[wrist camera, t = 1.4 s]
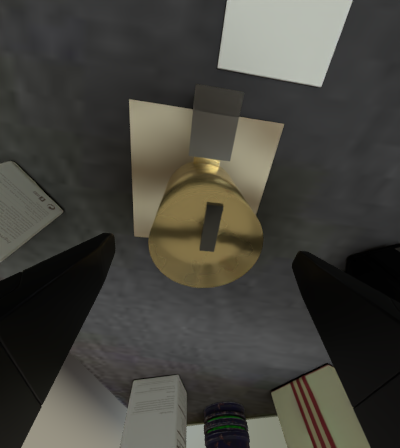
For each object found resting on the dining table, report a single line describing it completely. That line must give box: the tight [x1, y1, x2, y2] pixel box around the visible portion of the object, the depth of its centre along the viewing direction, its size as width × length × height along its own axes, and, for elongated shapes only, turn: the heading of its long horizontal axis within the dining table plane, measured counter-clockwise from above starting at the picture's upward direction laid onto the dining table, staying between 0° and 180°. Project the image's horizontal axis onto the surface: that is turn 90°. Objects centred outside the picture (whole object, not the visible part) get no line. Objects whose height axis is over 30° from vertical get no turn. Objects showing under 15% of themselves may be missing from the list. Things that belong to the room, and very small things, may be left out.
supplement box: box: [120, 375, 187, 448], centre depth 32 cm, size 9×9×15 cm
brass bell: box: [148, 157, 263, 288], centre depth 12 cm, size 10×6×7 cm, turn 172°
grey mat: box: [217, 0, 353, 87], centre depth 12 cm, size 8×8×1 cm
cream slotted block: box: [129, 84, 284, 238], centre depth 16 cm, size 14×12×5 cm
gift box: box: [271, 365, 371, 448], centre depth 34 cm, size 17×18×17 cm
